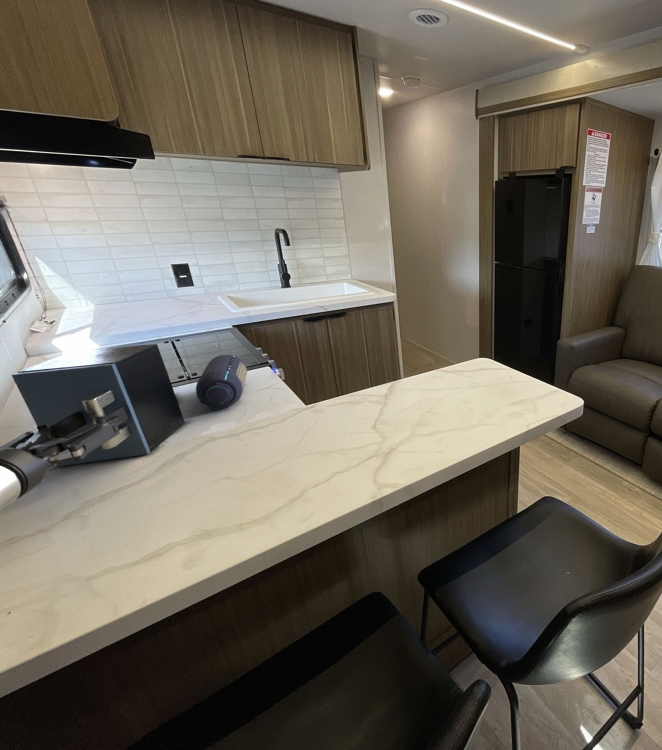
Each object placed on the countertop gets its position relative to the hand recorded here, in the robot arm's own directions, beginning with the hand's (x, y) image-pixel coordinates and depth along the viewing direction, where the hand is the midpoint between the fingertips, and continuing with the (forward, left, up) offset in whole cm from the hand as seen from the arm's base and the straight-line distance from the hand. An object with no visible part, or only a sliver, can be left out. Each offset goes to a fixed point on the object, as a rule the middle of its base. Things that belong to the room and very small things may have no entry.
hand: (102, 415), depth 79 cm
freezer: (-3, +9, -10) cm, 14 cm away
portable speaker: (+8, +31, -10) cm, 34 cm away
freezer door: (-3, -2, -10) cm, 11 cm away
